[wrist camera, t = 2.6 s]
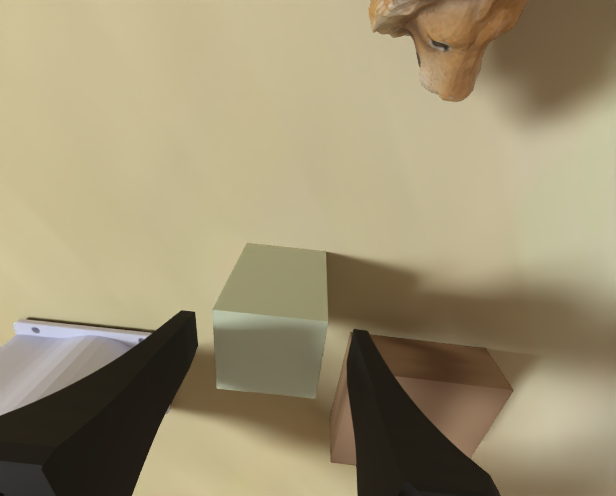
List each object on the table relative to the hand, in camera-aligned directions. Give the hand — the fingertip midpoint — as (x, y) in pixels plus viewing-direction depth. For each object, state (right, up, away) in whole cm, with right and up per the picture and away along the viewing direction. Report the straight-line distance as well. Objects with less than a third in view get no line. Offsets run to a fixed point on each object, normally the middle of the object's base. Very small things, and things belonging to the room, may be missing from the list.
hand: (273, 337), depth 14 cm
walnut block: (+8, -6, +8) cm, 13 cm away
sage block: (0, +2, +4) cm, 5 cm away
